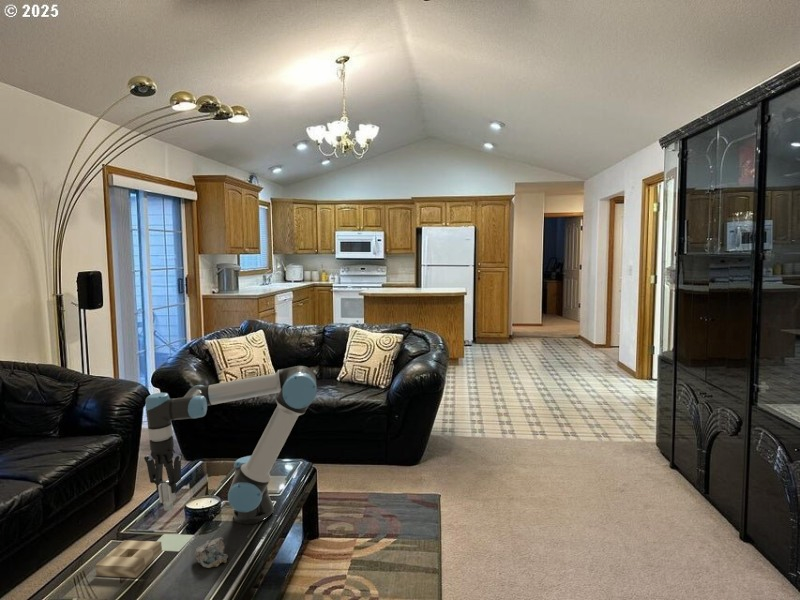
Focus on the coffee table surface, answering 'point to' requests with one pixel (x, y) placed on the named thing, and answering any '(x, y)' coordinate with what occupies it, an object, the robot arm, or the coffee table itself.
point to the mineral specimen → (211, 553)
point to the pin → (166, 495)
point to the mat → (173, 541)
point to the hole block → (128, 558)
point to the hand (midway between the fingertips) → (167, 501)
